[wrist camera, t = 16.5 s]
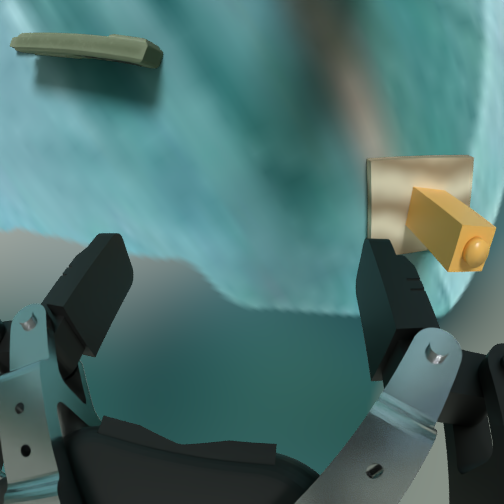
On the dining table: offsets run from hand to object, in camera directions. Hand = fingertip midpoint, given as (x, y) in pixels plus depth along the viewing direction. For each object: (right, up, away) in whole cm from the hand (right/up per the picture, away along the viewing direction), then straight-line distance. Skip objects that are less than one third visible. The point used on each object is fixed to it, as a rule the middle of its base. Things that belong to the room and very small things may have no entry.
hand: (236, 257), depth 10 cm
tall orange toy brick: (+25, +6, +27) cm, 37 cm away
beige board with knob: (+25, +7, +29) cm, 38 cm away
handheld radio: (-22, +27, +18) cm, 39 cm away
